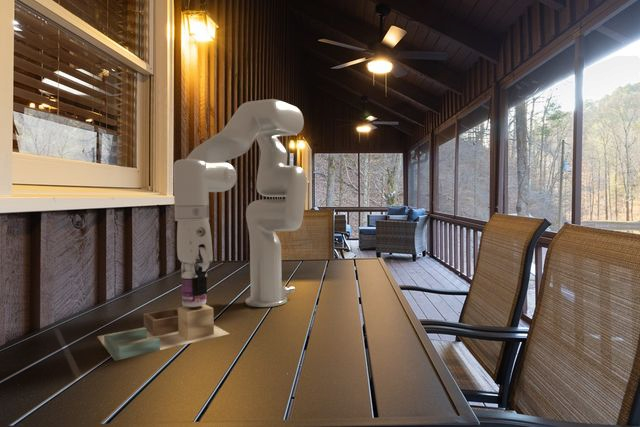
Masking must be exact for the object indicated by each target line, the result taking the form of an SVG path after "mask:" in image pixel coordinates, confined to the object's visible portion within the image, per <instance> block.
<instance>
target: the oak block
mask: <svg viewBox="0 0 640 427" xmlns="http://www.w3.org/2000/svg"><path fill="white" fill-rule="evenodd" d="M177 308H178V333H179V334H180V335H181V336H183V337H184V338H186V339H187V340H191V339H196V338H200V337H204V336H209V335H213V334H214V325H215V323H214V320H215V319H214V318H215V317H214V314H215V312H214V307H212V306H209V305H207V304H206V303H205V304H204V305H202V306H197V307H185V306H180V307H177Z"/></svg>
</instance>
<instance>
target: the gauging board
mask: <svg viewBox="0 0 640 427" xmlns="http://www.w3.org/2000/svg"><path fill="white" fill-rule="evenodd" d="M227 335H231V334H230V333H229V332H228V331H226V330H224V329H222V328H220V327H219V326H217V325H215V324H214V334H213V335H209V336H204V337H200V338H196V339H191V340H187V339H186V338H184V337H183V336H181V335H180V334H179V333H178V332H173V333H168V334H163V335H159V336H153V335H152V334H151V333H149V332H148V331H147V328H144V326H143V327H139V328H133V329H128V330H123V331H118V332H112V333H107V334H104V335H103V334H102V335H98V336H96V337H97V339H98V340H99V341H100V343H101V344H102V346H103V347H104V348H105V349H106V350H107V352H108V353H109V354H110V356H111V357H112V358H113V360H114V361H119V360H123V359H128V358H133V357H136V356H140V355H145V354H149V353H154V352H159V351H163V350H167V349H171V348H174V347H176V348H177V347H179V346H183V345H188V344H193V343H197V342H201V341H205V340H209V339H213V338H218V337H222V336H227Z"/></svg>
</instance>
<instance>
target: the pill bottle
mask: <svg viewBox="0 0 640 427" xmlns="http://www.w3.org/2000/svg"><path fill="white" fill-rule="evenodd" d="M196 263H201V261H197V262H196ZM198 267H200V266H198ZM198 267H197V270H198ZM184 269H185V270H186V272H184V273H183V274H182V273H181V277H180V278H181V304H182V307H184V306H185V307H197V306H202V305H204V304H205V305H206V303H207V293H206V294H203V295H197V296H194V295H192V278H194V276H193V270H192V265H191V264H187V263H185V264H184Z"/></svg>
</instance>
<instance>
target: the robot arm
mask: <svg viewBox="0 0 640 427" xmlns="http://www.w3.org/2000/svg"><path fill="white" fill-rule="evenodd" d="M304 124H305V122H304V116H303V113H302V111H301V110H300V109H299V108H298V107H297V106H295V105H294V104H293V105H292V104H290V103H288V102H286V101H283V100H279V99H275V98H270V99H260V100H251V101H246V102H244V103H242V104H241V105H239V107H238V108H237V109H236V111H235V112H234V114H233V115H232V116H231V118H230V119H229V121H228V122H227V124H226V125H225V126H224V128H223V129H222V130H221V131H219V132H217V133H216V134H214V135H213V136H211V137H210V138H208V139H207V140H205V141H203V142H202V143H200V144H199V145H197V146H196V147H195V148H193V150H192V151H191V152H190V153H189V154H188V155H187V157H186V158H185V159H183V158H182V159H177V160H176V161H175V162H174V163H173V170H172V171H173V201H174V221H175V222H177V228H176V229H177V230H176V253H177V259H178V260H179V261H180V266H181V268H180V272H181V275H182V274H183V273H184V272H186V270H185V269H184V264H185V263H187V264H191V265H192V270H193V276H194V278H192V295H194V296H197V295H203V294H206V295H207V293H208V281H207V280H208V279H207V277H208V269H209V266H210V264H211V263H212V262H213V254H214V253H213V244H212V232H211V226H210V222H209V221H210V198H209V197H210V196H209V194H210V193H220V192H221V193H223V192H226V191H229V190H230V189H232V188H233V187H234V186H235V185H236V183H237V180H238V177H237V176H238V174H237V171H236V169H235V167H234V166H233V165H232V164H231V163H229V162H227V161H230V160H232V159H233V160H234V159H236V158H238V157H240V156H242V155H245V154H246V153H248V151H249V150H250V149H251V147H252V145H253V144H254V142H255V140H256V141H257V144H258V146H259V149H260V158H259V162H258V163H259V165H258V168H257V176H256V177H257V178H256V183H255V184H256V187H255V188H256V192H257V193H258V194H259V195H261V196H263V197H267V199H265V198H264V199H257V200H254V201H251V202H250V203H249V204H248V206H247V207H246V210H245V218H246V223H247V230H248V235H249V268H250V269H249V270H250V272H249V273H250V296H248V297H246V299H245V305H247V306H250V307H254V308H255V307H256V308H271V307H278V306H283V305H284V304H287V302H288V297H287V296H286V295H287V294H292V293H295V292H296V288H295V286H288V287H287V286H283V284H282V278H283V276H282V244H281V241H280V238H279V237H278V235H277V233H276V232H295V231H298V229H300V228H301V226H302V223H303V220H304V215H305V214H304V212H305V205H306V198H307V192H308V190H307V188H308V180H307V178H308V177H307V174H306V171H304V169H303V168H302V167H300V166H298V165H287V161H288V153H287V152H288V151H287V150H286V148H285V146H284V145H283V143H281V141H280V140H279V138H278V137H287V136H296V135H299V134H300V133H301V132H302V131H303V129H304ZM269 197H270V199H268V198H269ZM275 197H276V198H278V197H279V198H283V197H284V198H285V199H276V198H275ZM271 198H273V199H271ZM274 198H275V199H274ZM196 262H201V263H196ZM198 266H200V267H198ZM197 267H198V270H197Z"/></svg>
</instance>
